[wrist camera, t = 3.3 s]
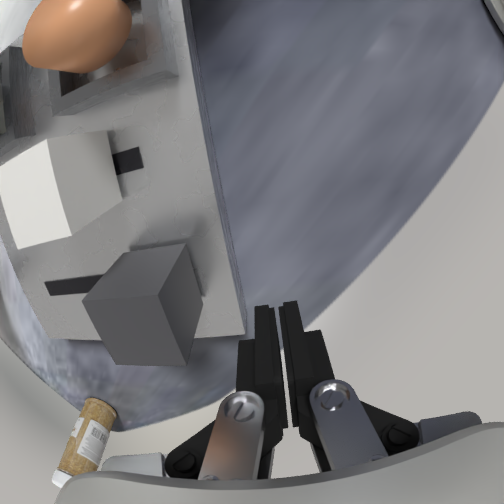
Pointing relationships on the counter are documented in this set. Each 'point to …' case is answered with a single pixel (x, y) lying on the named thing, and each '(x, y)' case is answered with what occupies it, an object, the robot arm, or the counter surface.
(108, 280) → the slider black
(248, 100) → the counter surface
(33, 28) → the button orange
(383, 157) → the counter surface
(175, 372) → the counter surface
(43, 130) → the panel
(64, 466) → the sprinkles bottle
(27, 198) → the slider white
